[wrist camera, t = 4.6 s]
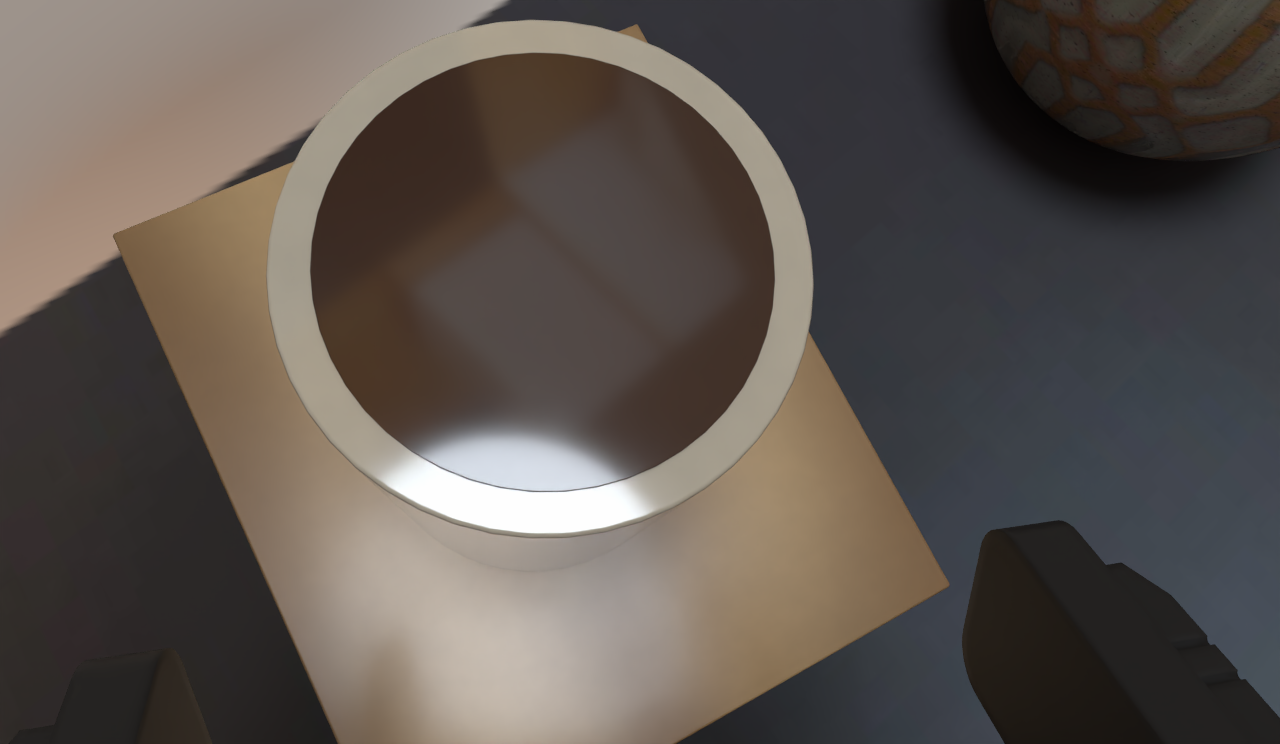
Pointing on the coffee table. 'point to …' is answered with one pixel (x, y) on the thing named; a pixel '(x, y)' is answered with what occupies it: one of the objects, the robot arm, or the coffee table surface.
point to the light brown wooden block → (513, 600)
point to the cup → (539, 287)
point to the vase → (1149, 71)
